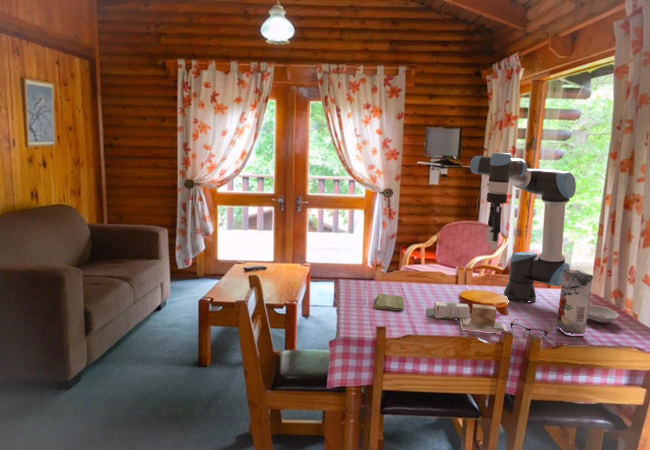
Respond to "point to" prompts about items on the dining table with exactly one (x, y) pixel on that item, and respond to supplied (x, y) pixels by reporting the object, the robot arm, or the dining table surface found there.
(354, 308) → the dining table surface
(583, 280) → the juice carton
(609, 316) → the dish
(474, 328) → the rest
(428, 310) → the mat
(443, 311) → the syrup box
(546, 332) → the eyeglasses
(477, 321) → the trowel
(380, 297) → the washcloth
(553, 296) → the dining table surface
